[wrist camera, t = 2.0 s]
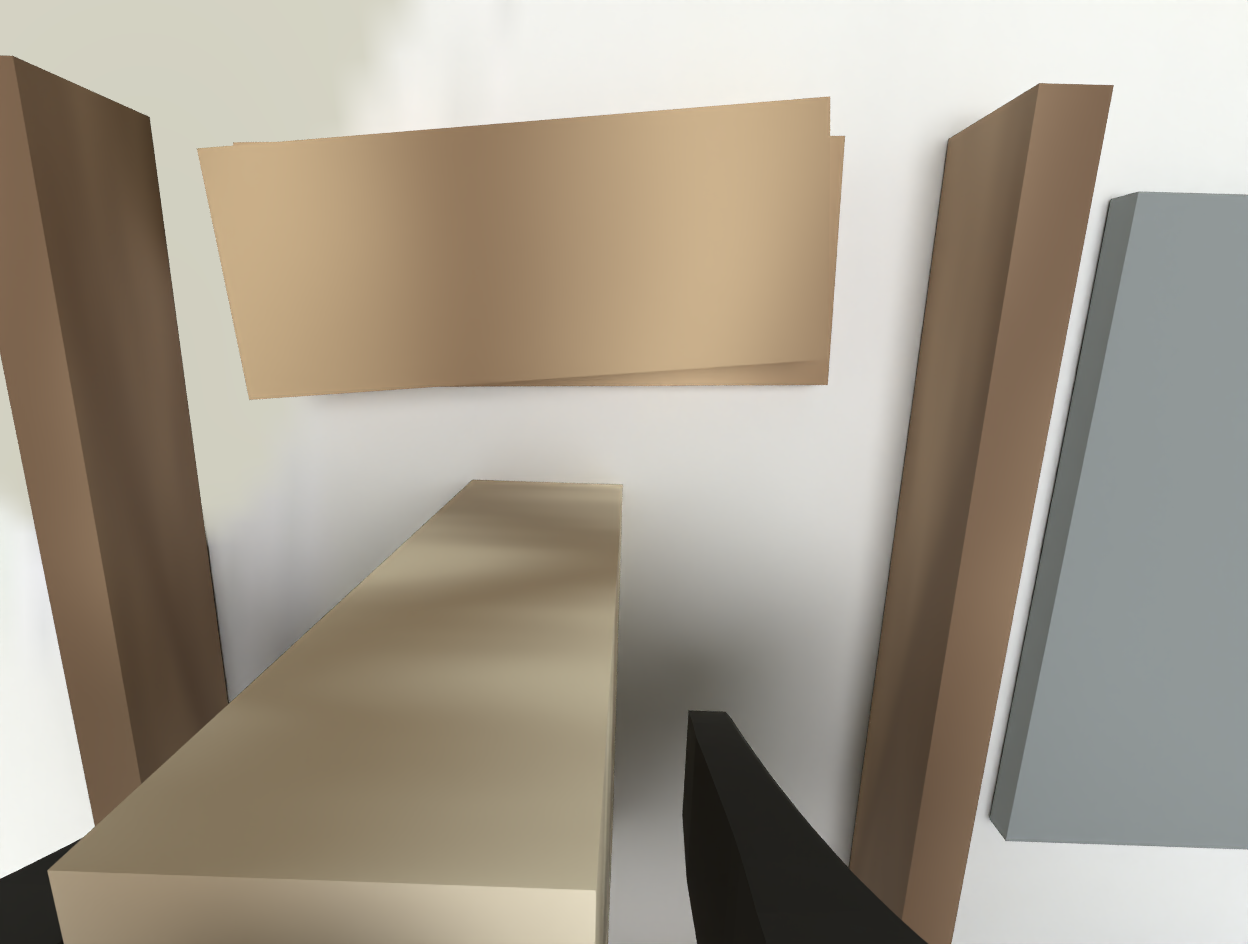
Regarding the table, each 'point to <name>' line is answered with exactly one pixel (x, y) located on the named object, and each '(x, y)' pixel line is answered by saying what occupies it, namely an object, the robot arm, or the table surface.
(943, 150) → the table surface
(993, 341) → the walnut rack
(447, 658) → the light wood block
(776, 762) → the table surface
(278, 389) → the upper oak offcut
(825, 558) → the table surface
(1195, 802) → the slate mat
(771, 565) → the table surface
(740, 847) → the robot arm
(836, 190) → the lower oak offcut
